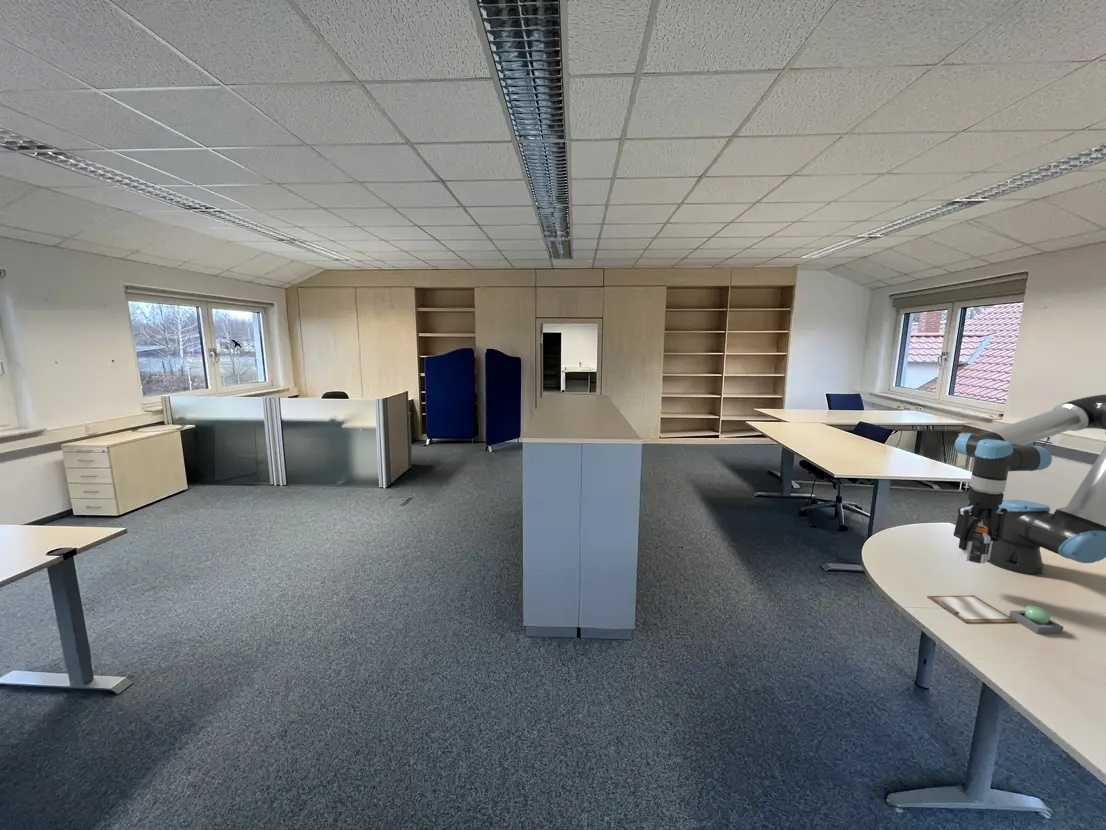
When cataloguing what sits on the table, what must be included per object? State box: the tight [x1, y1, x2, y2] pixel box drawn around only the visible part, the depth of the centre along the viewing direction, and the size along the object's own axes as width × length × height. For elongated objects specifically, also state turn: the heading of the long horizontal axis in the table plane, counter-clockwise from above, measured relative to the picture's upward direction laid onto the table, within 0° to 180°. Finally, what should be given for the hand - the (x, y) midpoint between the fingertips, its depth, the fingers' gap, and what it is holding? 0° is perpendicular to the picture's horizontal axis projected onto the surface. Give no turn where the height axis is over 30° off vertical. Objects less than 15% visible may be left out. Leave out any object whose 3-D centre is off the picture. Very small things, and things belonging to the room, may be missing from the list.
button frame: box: [1008, 609, 1064, 635], centre depth 117 cm, size 7×7×2 cm
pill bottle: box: [968, 523, 991, 564], centre depth 132 cm, size 6×6×11 cm
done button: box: [1024, 605, 1051, 625], centre depth 116 cm, size 4×4×3 cm
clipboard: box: [926, 594, 1018, 624], centre depth 123 cm, size 15×12×1 cm
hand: (973, 558), depth 133 cm, fingers closed on pill bottle, 6 cm apart
